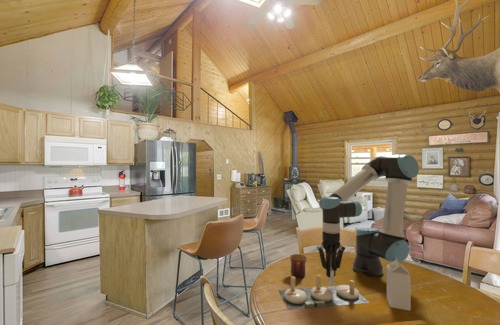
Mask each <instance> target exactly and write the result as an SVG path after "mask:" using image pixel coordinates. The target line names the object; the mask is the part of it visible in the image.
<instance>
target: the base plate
mask: <svg viewBox="0 0 500 325" xmlns="http://www.w3.org/2000/svg"><path fill="white" fill-rule="evenodd" d="M347 285H348V286H349V284H347ZM337 286H338V285H329V286H324V287H325V288H328V289H330V290H331V291H332V292H333V299H332V300H331V301H328V302H324V301H318V300H316V299H314V298H313V297H312V296H311V289H312V288H313V287H306V288H305V287H303V288H299V289H300V290H302V291H304V292H305V293H306V295H307V300H306V302H304V303H302V304H294V303H290V302H288V301H287V300H286V299H285V291H286V290H287V289H278V292H279V295H280V296H281V298H282V300H283V302H284V305H286V308H287V310H289V311H291V310H292V311H293V310H301V309H313V308H324V307H340V306H348V305H350V306H351V305H359V304H361V305H362V304H369V303H370V302H369V300H368V299H366V298H365V297H364V296H363V295H362V294H360V293H359V297H358V298H357V299H346V298H343V297H341V296H339V295H338V294H337V292H336V288H337Z"/></svg>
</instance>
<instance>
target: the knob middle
mask: <svg viewBox="0 0 500 325" xmlns="http://www.w3.org/2000/svg"><path fill="white" fill-rule="evenodd" d="M315 277H316V278H315V280H316V281H315V282H316V283H315V284H316V285H315V286H313V287H311V288H312V289H311V296H312V297H313V298H314V299H316V300H318V301H324V302H328V301H331V300H332V299H333V292H332V291H331V290H330V289H328V288H325V287H326V286H322V276H321V274H316V276H315Z"/></svg>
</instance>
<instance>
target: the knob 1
mask: <svg viewBox="0 0 500 325" xmlns="http://www.w3.org/2000/svg"><path fill="white" fill-rule="evenodd" d="M300 289H301V288H296V277H294V276H291V275H290V288H288V289H285V290H286V291H285V299H286V300H287V301H288V302H290V303H294V304H302V303H304V302H306V300H307V295H306V293H305V292H304V291H302V290H300Z"/></svg>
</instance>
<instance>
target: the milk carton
mask: <svg viewBox="0 0 500 325" xmlns="http://www.w3.org/2000/svg"><path fill="white" fill-rule="evenodd" d="M411 277H412V276H411V273H409V271H408V270H407V268H406V267H404V266H403V265H402V264H401V263H400V262H399V261H398V259H397V258H396V260H395V261H393V262H389V264H387V265H386V300H387V303H388V305H389V307H390V308H391V309H394V308H395V309H399V310H404V311H408V312H409V311H411V307H412V306H411V303H412V302H411V299H412V298H411V297H412V296H411V295H412V294H411V293H412V292H411V284H412V283H411Z"/></svg>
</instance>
